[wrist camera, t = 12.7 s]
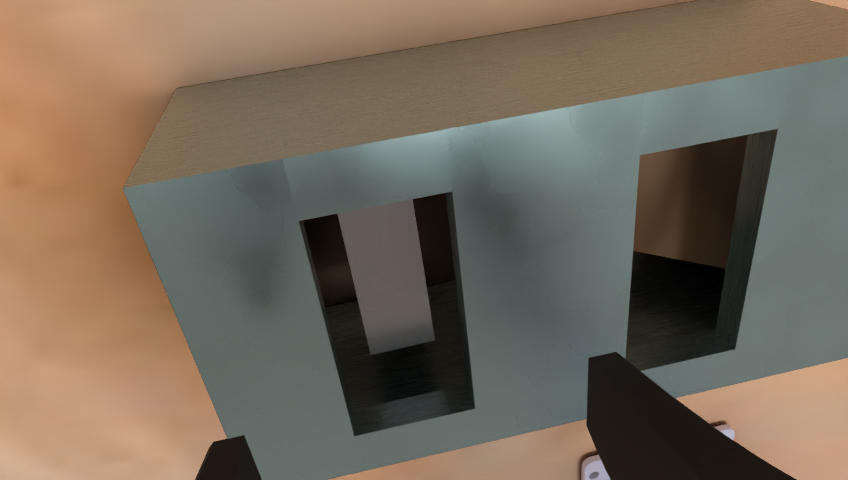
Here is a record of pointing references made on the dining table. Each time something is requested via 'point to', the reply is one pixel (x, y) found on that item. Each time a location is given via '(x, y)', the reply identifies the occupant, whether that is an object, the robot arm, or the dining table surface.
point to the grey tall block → (388, 275)
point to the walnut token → (689, 201)
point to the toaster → (503, 225)
